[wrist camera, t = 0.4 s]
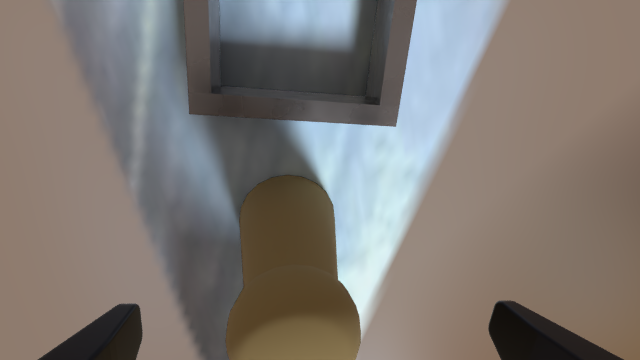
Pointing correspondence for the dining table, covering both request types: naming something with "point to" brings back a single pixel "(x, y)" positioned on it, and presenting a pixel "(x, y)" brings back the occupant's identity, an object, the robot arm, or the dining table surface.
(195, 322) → the dining table surface
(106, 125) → the dining table surface
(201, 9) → the socket frame
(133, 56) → the dining table surface
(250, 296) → the cork
